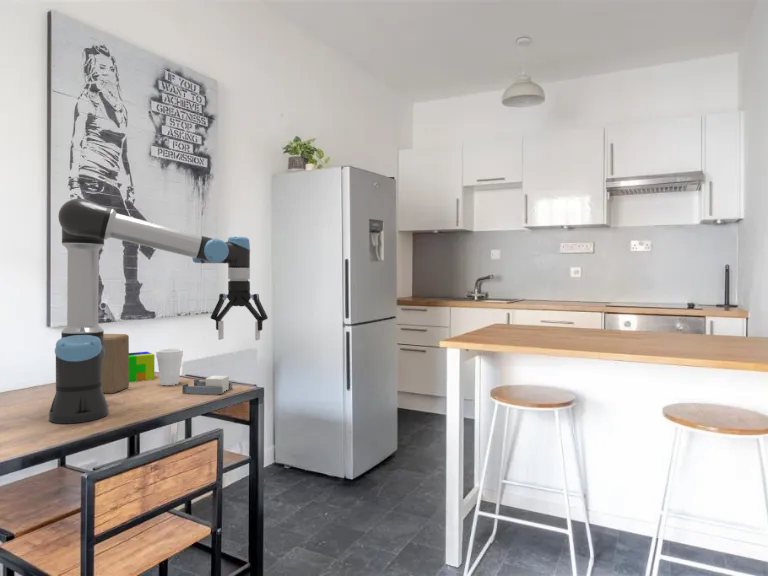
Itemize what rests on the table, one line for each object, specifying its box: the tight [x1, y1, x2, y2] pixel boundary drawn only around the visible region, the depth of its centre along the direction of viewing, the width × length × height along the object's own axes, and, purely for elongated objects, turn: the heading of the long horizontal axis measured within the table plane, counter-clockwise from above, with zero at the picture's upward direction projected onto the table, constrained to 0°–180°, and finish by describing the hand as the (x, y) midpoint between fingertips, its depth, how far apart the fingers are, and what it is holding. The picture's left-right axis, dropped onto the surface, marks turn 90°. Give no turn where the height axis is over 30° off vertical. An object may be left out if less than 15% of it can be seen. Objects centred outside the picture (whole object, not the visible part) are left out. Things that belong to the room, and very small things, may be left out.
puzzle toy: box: [129, 351, 155, 383], centre depth 208 cm, size 10×10×10 cm
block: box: [205, 375, 230, 393], centre depth 187 cm, size 6×6×5 cm
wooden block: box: [101, 333, 130, 394], centre depth 187 cm, size 10×10×20 cm
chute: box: [181, 378, 233, 395], centre depth 188 cm, size 10×14×3 cm
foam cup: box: [155, 348, 184, 386], centre depth 198 cm, size 10×9×13 cm
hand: (239, 339), depth 186 cm, fingers open, 13 cm apart
